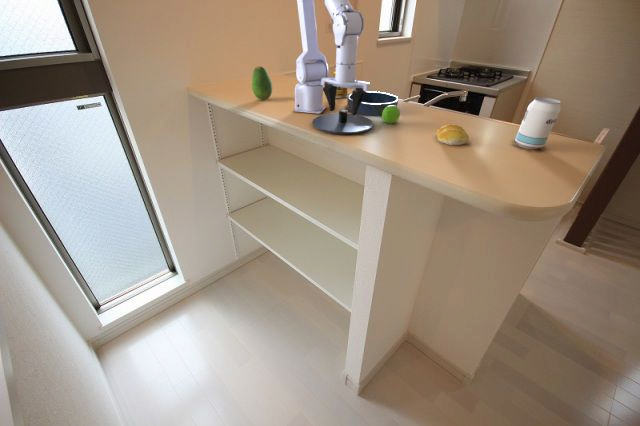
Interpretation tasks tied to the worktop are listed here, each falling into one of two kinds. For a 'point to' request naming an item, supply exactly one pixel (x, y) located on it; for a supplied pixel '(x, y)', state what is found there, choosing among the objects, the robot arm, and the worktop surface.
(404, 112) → the worktop surface
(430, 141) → the worktop surface
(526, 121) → the beverage can
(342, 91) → the condiment
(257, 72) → the fruit
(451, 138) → the bread roll
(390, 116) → the lime
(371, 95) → the pot
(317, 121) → the lid
